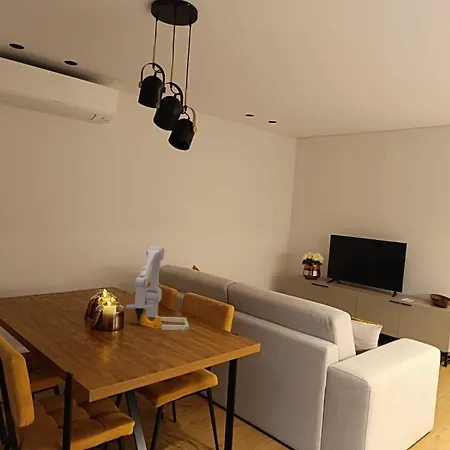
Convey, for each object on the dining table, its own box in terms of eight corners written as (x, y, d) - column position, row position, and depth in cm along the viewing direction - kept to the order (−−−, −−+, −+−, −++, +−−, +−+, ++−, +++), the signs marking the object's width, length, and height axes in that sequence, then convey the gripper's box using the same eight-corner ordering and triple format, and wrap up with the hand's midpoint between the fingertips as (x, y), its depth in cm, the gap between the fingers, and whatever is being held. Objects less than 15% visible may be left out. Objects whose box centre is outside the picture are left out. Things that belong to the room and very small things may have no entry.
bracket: (160, 321, 258) (160, 316, 258) (185, 321, 261) (185, 317, 261) (161, 329, 241) (162, 325, 241) (188, 330, 244) (188, 326, 244)
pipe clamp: (161, 327, 245) (162, 316, 245) (157, 329, 241) (158, 317, 241) (145, 323, 251) (146, 312, 251) (140, 324, 247) (141, 313, 247)
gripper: (127, 298, 241) (125, 322, 242) (153, 300, 244) (151, 323, 244) (127, 296, 248) (125, 319, 248) (152, 297, 251) (151, 320, 251)
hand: (138, 321), depth 247 cm, fingers closed
